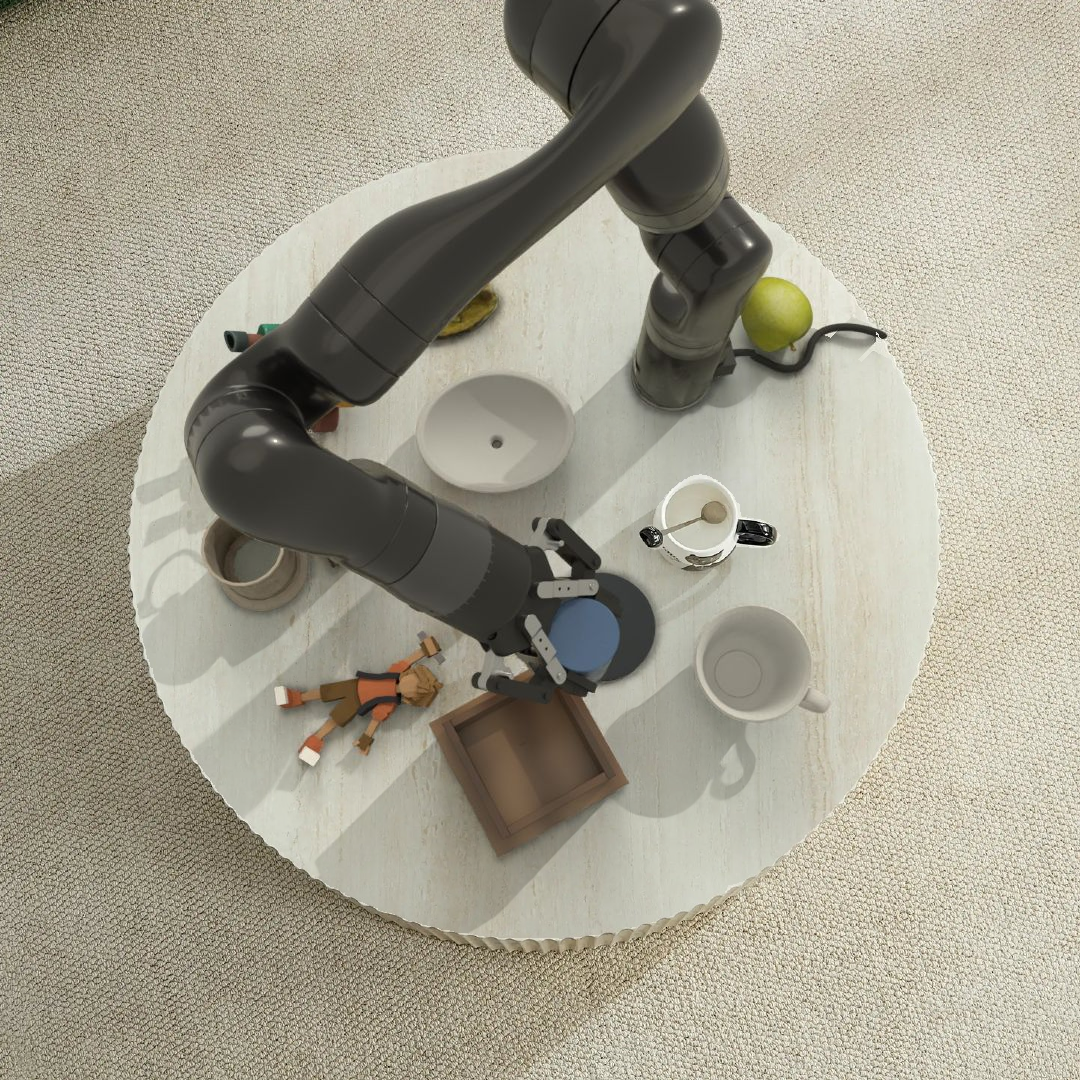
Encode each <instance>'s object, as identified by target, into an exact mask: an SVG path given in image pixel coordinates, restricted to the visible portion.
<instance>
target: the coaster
mask: <svg viewBox="0 0 1080 1080" xmlns="http://www.w3.org/2000/svg"><path fill="white" fill-rule="evenodd" d="M595 580H596V581H597V582H598V585H600V586H601V587H603V588H604V589H606V590H608V591H609V592H611V593H613V594H614V595H616V596H617V597H618V598H619V599H620V601H621V602H620V605H619V606H620V607H622V608H623V609H624V613H623V615H622V618H616V617H615V618H616V620H617V623H618V626H619V631H620V639H619V645H618V648H617V650H616V652H615V654H614V656H613V658H612V660H611V662H610V664H609V666H608V668H607V670H606V672H605V674H604V675H603V676H602V677H601V679H600V680H598V681H597V682H609V681H614V680H618V679H621V678H623V677H626V676H627V675H629V674H631V673H633V672H634V671H635V670H636V669H638V667H640V665H642V664H643V662H644V661H645V660H646V658H647V657H648V656H649V654H650V652H651V649H652V647H653V644H654V642H655V636H656V619H655V613H654V611H653V608H652V606H651V603H650V601H649V600H648V598H647V597H646V595H645V594H644V592H643V591H642V590H641V589H640V588H639V587H638V586H637V585H636V584H634V583H633V582H631V581H630V580H628V579H626V578H625V577H622V576H620V575H617V574H613V573H610V572H609V573H608V572H595ZM559 599H561V600H562V601H561V603H560V605H561V604H562V603H564V602H566V601H568V600H571V599H575V598H574V597H559Z"/></svg>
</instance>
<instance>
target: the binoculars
mask: <svg viewBox="0 0 1080 1080" xmlns="http://www.w3.org/2000/svg"><path fill="white" fill-rule="evenodd" d="M281 324H282V323H260V324H259V326H258V328H257V331H256V333H247V332H246V331H241V330H240V331H239V330H224V332H223V338H224V342H225V344H226V347H227V349H228V350H229V352H231V353H239V354H241V353H242V352H244V351H245V350H246V349H248V348H249V347H250V346H251V345H253V344H254V343H255V342H257V341H258V340H259V339H260V338H262V337H263V336H264V335H266V334H267V333H269V332H270V331H272V330H273V329H275V328H277V327H278V326H280V325H281ZM355 407H356V406H353V405H350V404H347V403H345V402H341V403H340V404H339V405H337V406H336V407H335V408H334V409H333V410H331V411H330V412H329V413H328V414H326V415H325V416H324V417H323V418H321V419H320V420H319V421H318V422H317V423H316V424H315V425H314V426H313V427H312V428H311V429H310V430H311V431H312V433H334V432H336V431H337V428H338V425H339V421H340V408H355Z"/></svg>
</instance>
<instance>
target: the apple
mask: <svg viewBox="0 0 1080 1080" xmlns="http://www.w3.org/2000/svg"><path fill="white" fill-rule="evenodd" d="M740 319H741V322H742V323H741V324H742V326H743V328H744V331H745V332H746V335H747V337H748V339H749V340H750V341H751V342H752V343H753V344H754V346H756V347H757V348H758V349H760V350H763V351H764V352H775V351H781V350H784V349H786V348H788V347H790V351H791V352H794V353H795V352H796V351H797V347H796V346H795V344H794V343H796V342H798V341H800V340H801V339H802V338H804V337H805V336H806V335H807V334H808V333H809V331H810V330H811V328H812V325H813V320H814V314H813V307H812V304H811V302H810V300H809V298H808V297H807V295H806V294H805V293H804V291H802V290H801V288H799V286H797V285H796V284H794V283H793V282H791V281H789V280H787V279H784V278H780V277H776V276H763V277H762V279H761V280H760V282H759V284H758V286H757V288H756V290H755V291H754V293H753V295H752V297H751V299H750V301H749V303H748V305H747V306H746V308H745V309H744V311H743V312H742V313H741V315H740Z"/></svg>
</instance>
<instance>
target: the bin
mask: <svg viewBox="0 0 1080 1080" xmlns="http://www.w3.org/2000/svg"><path fill="white" fill-rule="evenodd" d="M532 677H533V674H532V673H531V671H530V670H529V668H527V669H526V670H524V671H522V672H521V673H519V674H517V675H514V679H513V680H517V681H521V682H525V683H528V682H529V681H530V680H531V678H532ZM552 694H553V695H552V700H551V701H550V702H549V703H548V704H541V703H537V702H532V701H528V700H523V699H518V698H514V697H509V696H504V695H500V694H495V693H492V692H488V691H485V692H484V693H482V694H480V695H478V696H476V697H475V698H472V699H471V700H469V701H467V702H466V703H463V704H462V705H460V706H458V707H456V708H454V709H452V710H451V711H449V712H447V713H445V714H444V715H441V716H440V717H438V718H436V719H434V720H432V721H431V722H429V723H428V726H429V728H430V729H431V732H432V733H433V735H434V737H435V739H436V741H437V743H438V745H439V747H440V749H441V750H442V752H443V755H444V757H445V758H446V760H447V762H448V765H449V766H450V768H451V770H452V773H454V775H455V778H456V779H457V781H458V783H459V785H460V787H461V789H462V791H463V793H464V795H465V797H466V798H467V801H468V802H469V804H470V806H471V808H472V810H473V812H474V814H475V816H476V818H477V820H478V822H479V824H480V825H481V827H482V829H483V831H484V833H485V835H486V837H487V839H488V841H489V843H490V846H491V847H492V848H493V850H494V852H495V854H496V856H497V858H501V857H503V856H504V855H506V854H508V853H509V852H511V851H514V850H515V849H516V848H518V847H520V846H522V845H523V844H525V843H527V842H529V841H531V840H532V839H534V838H536V837H538V836H539V835H541V834H543V833H545V832H546V831H548V830H550V829H551V828H554V827H556V826H557V825H558V824H560V823H562V822H564V821H565V820H567V819H569V818H571V817H573V816H575V815H577V814H578V813H580V812H581V811H583V810H585V809H587V808H589V807H591V806H592V805H594V804H596V803H597V802H599V801H601V800H603V799H605V798H607V797H608V796H609V795H611V794H613V793H615V792H616V791H618V790H620V789H622V788H624V787H625V786H627V785H629V784H630V781H629V780H628V777H627V776H626V774H625V772H624V770H623V769H622V767H621V765H620V763H619V762H618V759H617V758H616V756H615V754H614V753H613V751H612V749H611V747H610V746H609V743H608V741H607V740H606V738H605V736H604V735H603V733H602V732H601V729H600V727H599V726H598V724H597V721H596V720H595V719H594V717H593V715H592V713H591V711H590V710H589V708H588V706H587V704H586V702H585V701H584V699H583V697H579V696H575V695H571V694H568V693H566V692H564V691H562V690H560V689H558V688H555V689H554V690H553V691H552Z"/></svg>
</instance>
